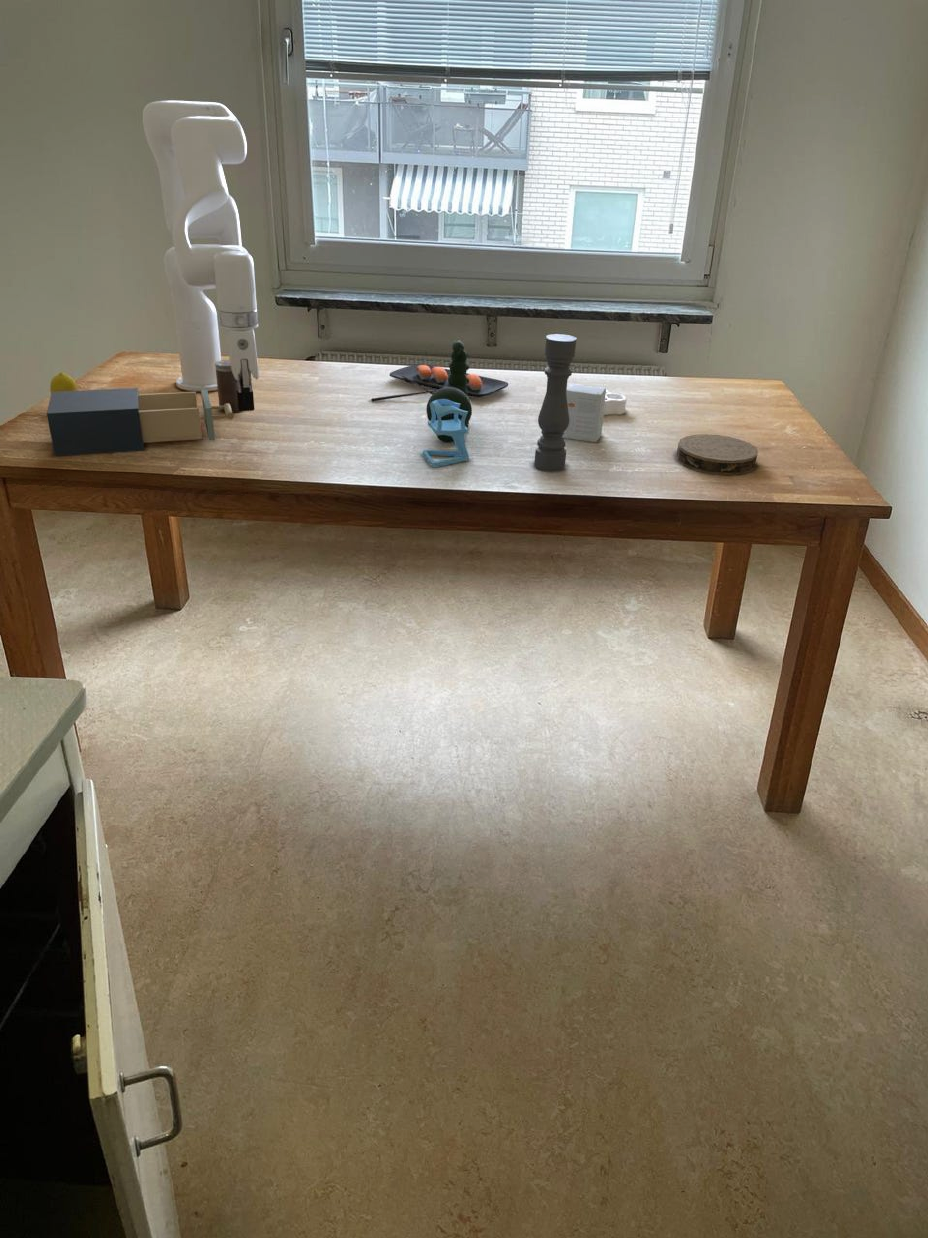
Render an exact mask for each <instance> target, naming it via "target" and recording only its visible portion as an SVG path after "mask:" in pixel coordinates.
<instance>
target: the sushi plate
mask: <svg viewBox="0 0 928 1238" xmlns="http://www.w3.org/2000/svg"><path fill="white" fill-rule="evenodd" d="M450 374H451V372H450V368H444V367H442V366H433V365H430V364H423V363H421V364H420V363H417V364H410V365H408V366H405V367H402V368H398V369H396V370H393V371H391V372H390V373H389V376H390V377H391V378H393V379H397V380H401V381H404V382H405V383H408V384H412V385H415V386H417V387H419V388H421V389H422V390H424V391H418V392H411V393H401V394H394V395H387V396H379V397H373V398H370V399H371V400H370V401H371V402H378V401H385V400H391V399H396V398H397V399H398V398H399V399H400V398H405V397H411V396H415V395H423V394H431V396H432V395H433V393H435V392H436V391H437V390H439V389H441V388H444V387H449V383H448V378H449V375H450ZM465 375H466V377H467V378H468V379H469V383H468V384H467V385H466V389H467V395H468V396H467V397H470V398H482V397H485V396H489V395H492V394H494V393H498V392H499V391H501V390H504V389H505V388H507V387H508V386H509V383H508V382H507V381H505V380H500V379H496V378H491V377H487V376H482V375H478V374H475V373H468V372H466V373H465ZM427 388H429V389H427ZM430 389H432V390H430Z"/></svg>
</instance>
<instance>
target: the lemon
mask: <svg viewBox="0 0 928 1238" xmlns="http://www.w3.org/2000/svg"><path fill="white" fill-rule="evenodd" d="M49 386H50V387H49V390H50V394H51V393H52V392H60V391H79V389H78V385H77V383H76V381H75V379H74V378H73V377H71V376H70V375H68V374H65V373H63V372H59V373H58V374H56V375H55V376H54V377H52V379H51V381H50V385H49Z"/></svg>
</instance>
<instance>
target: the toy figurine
mask: <svg viewBox="0 0 928 1238" xmlns="http://www.w3.org/2000/svg"><path fill="white" fill-rule="evenodd" d="M451 347H452V349H451V350H452V351H451V353H450V359H451V362H450V363H449V364H448V367H449V368H448V369H449V370H450V372H451V374H450V375H449V378H448V383H449V387H444V388H441V389H439V390H438V389H436V390H437V391H436V392H433V395H432V394H431V396H430V397H429V399H428V401H427V403H426V417H427V421H431V418H432V413H431V409H430V403H431V402H433V401H435V400H439V399H447V400H450V401H452V402H455V403H460V407H459V409H461V410H463V411H468V413H467V416H466V418H465V426H466V427H467V428H468V429H469V425H470V421H471V417H472V413H473V406H472V403H471V400H470V398H469V396H468V395H467V389H466V385H467V384H468V383H469V379H468V378H467V377H466V375H465V373H468V370H469V369H470V365H469V364H468V363H467V360H468V357H469V354H468V352H466V350H465V344H464V343H463V342H462V341H461V340H455V341H454V342H453V343H452V346H451ZM441 406H450V405H441ZM435 415H436V420H438V418H437V414H436V412H435ZM462 417H463V416H462V415H460V414H458V419H459V420H460V421H461V419H462ZM452 419H454V413H450V414H447V415H445V416H443V417H441V421H442V420H452ZM436 436H437V439H438V441H440V442H443V443H446V444H447V443H448V444H449V443H455V442H454V440H453V438H452V436H447V435H436Z"/></svg>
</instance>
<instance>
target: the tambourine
mask: <svg viewBox="0 0 928 1238" xmlns="http://www.w3.org/2000/svg"><path fill="white" fill-rule="evenodd" d="M758 453H759V451H758V449H757V447H756V446H754V445H753V444H751V443H750V442H748V441H745V440H742V439H739V438H736V437H732V436H725V435H720V434H708V433H707V434H706V433H704V434H692V435H691V434H690V435H686V436H684V437H682V438H680V440H679V441H678V443H677V450H676V460H677V462H679V463H680V464H681V465H683V466H684V467H687V468H689V469H691V470H693V471H698V472H701V473H706V474H712V475H723V476H734V475H735V476H736V475H743V474H748V473H750V472H751V471H754V470H755V467H756V463H757V459H758Z"/></svg>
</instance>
